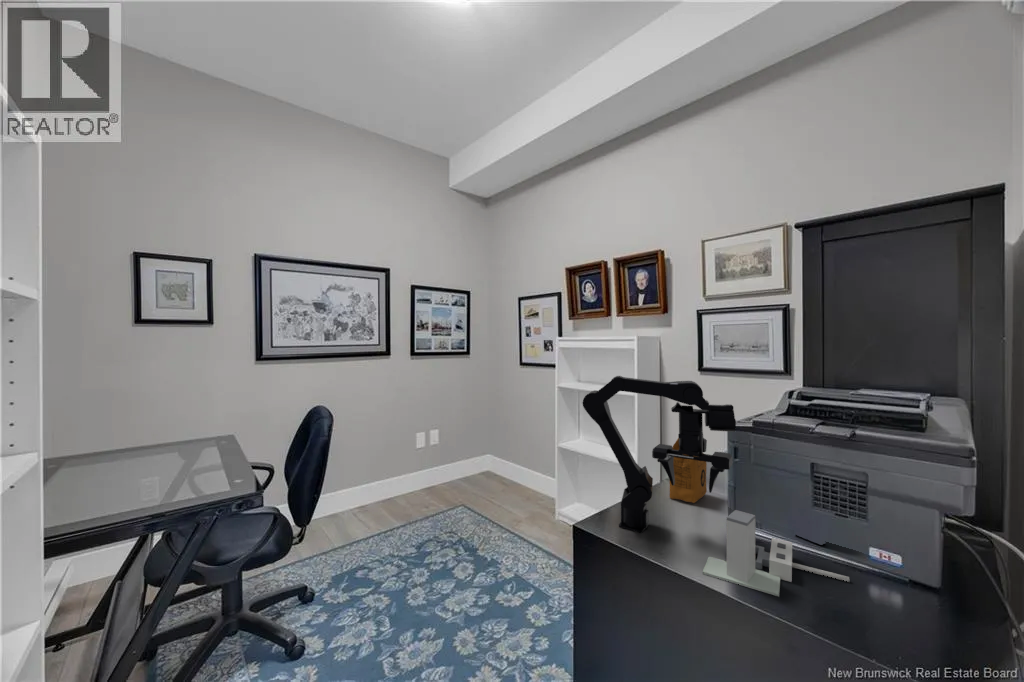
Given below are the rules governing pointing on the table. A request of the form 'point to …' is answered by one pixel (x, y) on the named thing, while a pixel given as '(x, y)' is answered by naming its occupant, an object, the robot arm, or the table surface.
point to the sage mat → (757, 581)
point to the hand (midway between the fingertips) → (691, 488)
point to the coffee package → (688, 478)
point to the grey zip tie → (785, 561)
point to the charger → (741, 545)
